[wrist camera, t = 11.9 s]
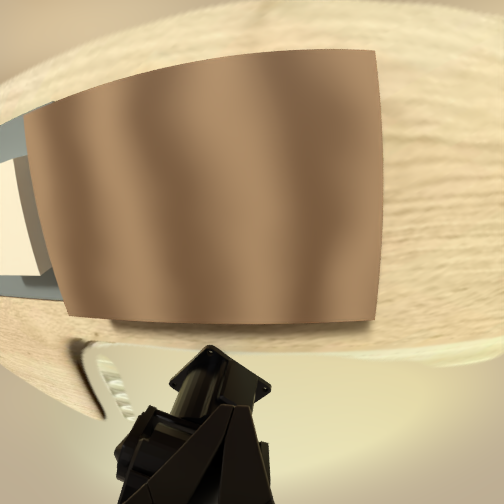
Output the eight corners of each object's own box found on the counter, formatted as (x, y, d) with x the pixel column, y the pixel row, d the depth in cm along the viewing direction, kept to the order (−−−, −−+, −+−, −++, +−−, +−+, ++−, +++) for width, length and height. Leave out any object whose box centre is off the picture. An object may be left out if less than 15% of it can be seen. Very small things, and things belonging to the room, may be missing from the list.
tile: (-26, 174, 18) (-6, 168, 20) (-1, 275, 21) (16, 263, 24) (12, 158, 17) (34, 153, 19) (40, 275, 20) (58, 262, 23)
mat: (54, 101, 18) (52, 101, 18) (94, 300, 24) (92, 302, 24) (-44, 150, 20) (-46, 151, 20) (-9, 293, 26) (-11, 294, 26)
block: (358, 65, 15) (374, 50, 12) (362, 286, 21) (374, 319, 17) (60, 112, 18) (23, 115, 15) (95, 289, 24) (68, 315, 20)
